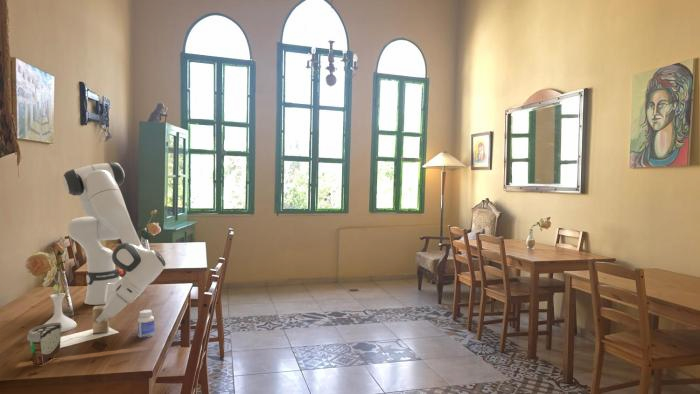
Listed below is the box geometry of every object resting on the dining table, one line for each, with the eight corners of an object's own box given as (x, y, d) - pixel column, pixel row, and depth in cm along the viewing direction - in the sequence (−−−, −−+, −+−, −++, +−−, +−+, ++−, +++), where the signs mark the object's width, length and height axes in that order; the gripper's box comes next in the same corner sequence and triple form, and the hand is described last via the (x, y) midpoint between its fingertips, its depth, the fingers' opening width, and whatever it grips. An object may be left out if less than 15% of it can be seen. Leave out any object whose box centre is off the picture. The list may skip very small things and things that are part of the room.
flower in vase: (44, 329, 169) (41, 263, 168) (79, 325, 174) (77, 260, 172) (35, 340, 157) (33, 270, 156) (73, 336, 162) (71, 267, 161)
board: (106, 328, 169) (106, 325, 169) (119, 335, 162) (119, 332, 162) (44, 344, 154) (44, 340, 154) (56, 352, 147) (56, 348, 147)
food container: (42, 352, 147) (41, 322, 146) (62, 351, 148) (61, 321, 147) (18, 368, 135) (17, 335, 134) (40, 368, 135) (38, 335, 135)
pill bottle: (158, 336, 161) (157, 309, 161) (146, 341, 156) (146, 314, 156) (146, 334, 163) (145, 308, 163) (134, 339, 158) (133, 312, 158)
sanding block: (108, 329, 166) (108, 304, 165) (107, 333, 161) (106, 308, 161) (94, 330, 164) (94, 306, 163) (93, 334, 160) (92, 309, 159)
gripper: (123, 277, 174) (95, 305, 171) (118, 290, 155) (87, 321, 152) (136, 287, 176) (109, 315, 173) (133, 301, 157) (102, 332, 154)
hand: (98, 318), depth 162 cm, fingers closed on sanding block, 4 cm apart
